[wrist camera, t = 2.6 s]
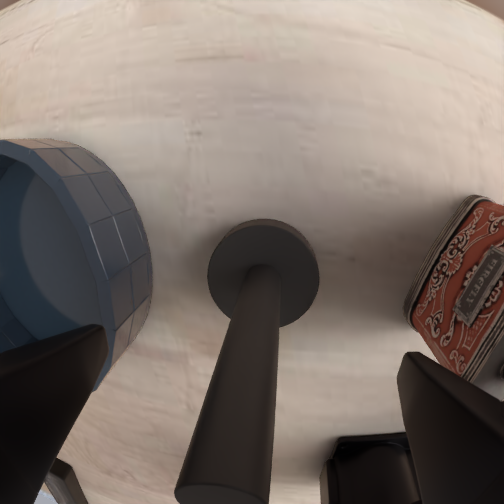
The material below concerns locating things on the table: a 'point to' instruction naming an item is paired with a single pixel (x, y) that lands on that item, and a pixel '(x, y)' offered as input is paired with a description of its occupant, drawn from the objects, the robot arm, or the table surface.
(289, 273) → the dark disc-based rod
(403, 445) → the robot arm
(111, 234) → the bowl
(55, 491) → the multiport hub
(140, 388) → the table surface
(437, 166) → the table surface
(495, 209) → the lighter
